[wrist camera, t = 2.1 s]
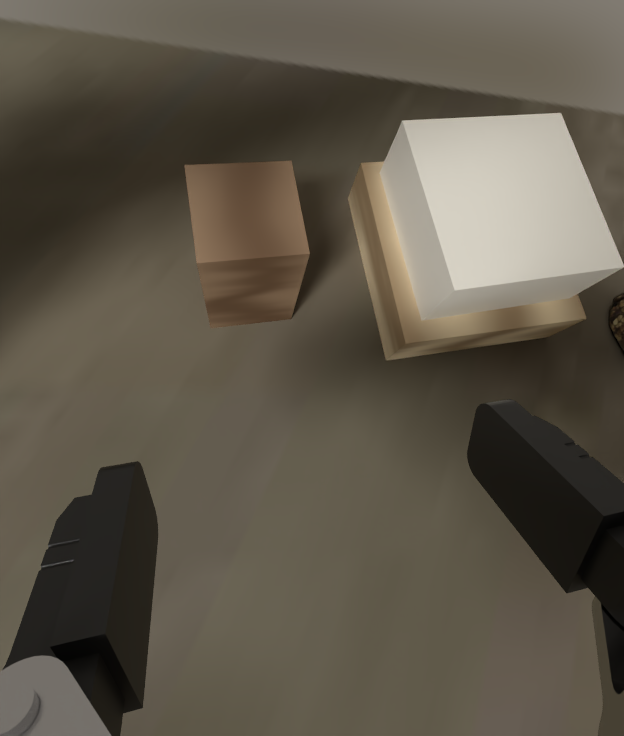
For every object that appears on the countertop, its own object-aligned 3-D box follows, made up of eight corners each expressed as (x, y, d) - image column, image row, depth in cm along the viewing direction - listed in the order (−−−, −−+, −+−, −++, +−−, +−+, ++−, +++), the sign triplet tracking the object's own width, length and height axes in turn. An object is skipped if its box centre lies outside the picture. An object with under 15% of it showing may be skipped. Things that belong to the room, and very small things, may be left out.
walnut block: (210, 328, 26) (196, 263, 18) (201, 255, 27) (184, 165, 19) (291, 319, 27) (309, 253, 19) (278, 248, 28) (291, 160, 20)
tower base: (383, 362, 28) (405, 343, 24) (346, 203, 30) (360, 162, 26) (542, 339, 30) (586, 318, 26) (494, 193, 33) (528, 154, 29)
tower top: (421, 320, 24) (454, 290, 20) (379, 172, 26) (402, 120, 23) (569, 298, 26) (624, 267, 22) (518, 162, 28) (560, 113, 25)
